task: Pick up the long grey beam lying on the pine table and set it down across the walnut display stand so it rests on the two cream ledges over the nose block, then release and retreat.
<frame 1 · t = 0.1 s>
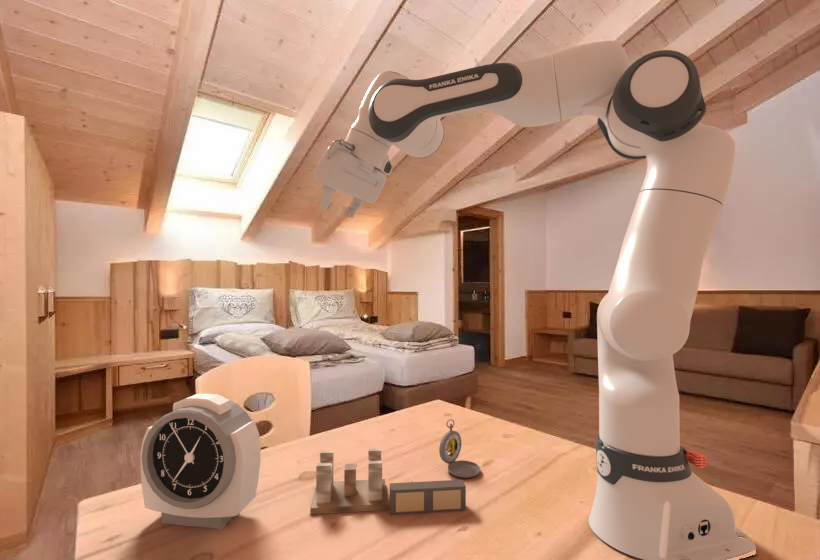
hand: (336, 213, 85), 54 cm above the table, tool tilted 30°, fingers open, 8 cm apart
display stand: (350, 498, 73), on the table
pocket watch: (459, 471, 84), on the table
long grey beam: (427, 510, 70), on the table
alarm clock: (201, 517, 67), on the table
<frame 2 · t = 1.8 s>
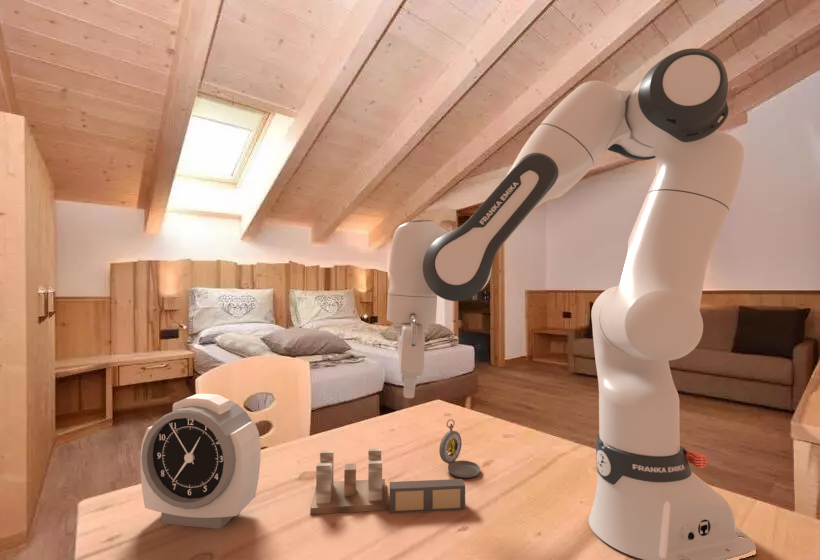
hand: (407, 389, 72), 20 cm above the table, tool pointing down, fingers open, 8 cm apart
nothing on the table moved.
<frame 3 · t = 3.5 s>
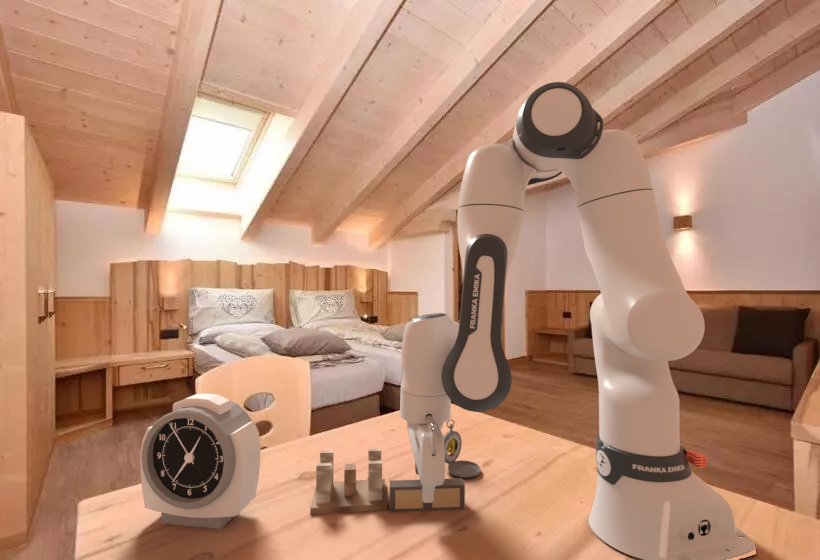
hand: (423, 485, 70), 4 cm above the table, tool pointing down, fingers open, 8 cm apart
nothing on the table moved.
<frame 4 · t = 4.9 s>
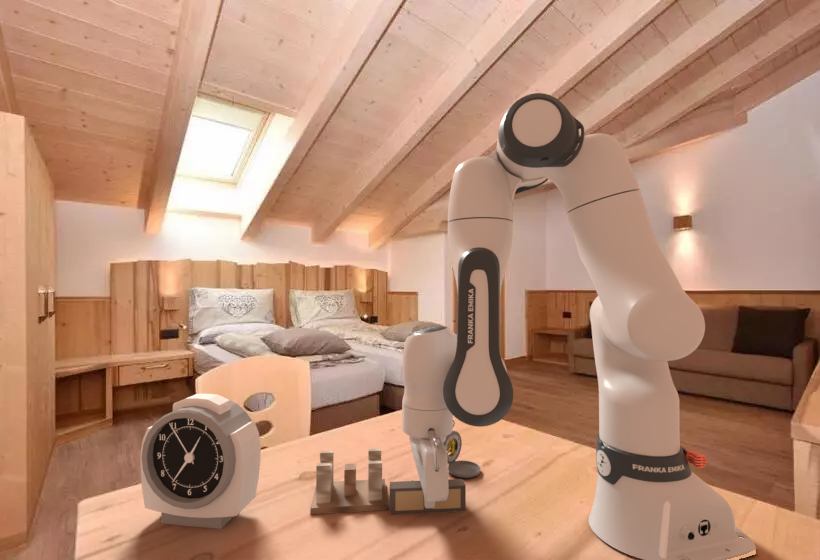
hand: (427, 499, 70), 2 cm above the table, tool pointing down, fingers closed on long grey beam, 3 cm apart
long grey beam: (427, 509, 70), on the table, touching gripper
everything else where it was.
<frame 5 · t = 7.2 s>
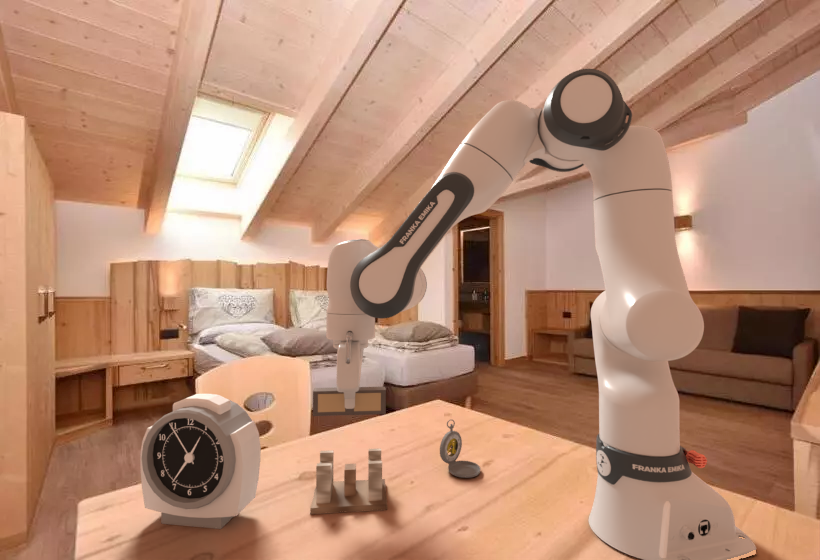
hand: (350, 404, 73), 17 cm above the table, tool pointing down, fingers closed on long grey beam, 2 cm apart
long grey beam: (349, 413, 73), point 15 cm above the table, touching gripper
everything else where it was.
when the fingers open (8 cm above the table, at t = 9.3 s): long grey beam stays where it is, resting on display stand.
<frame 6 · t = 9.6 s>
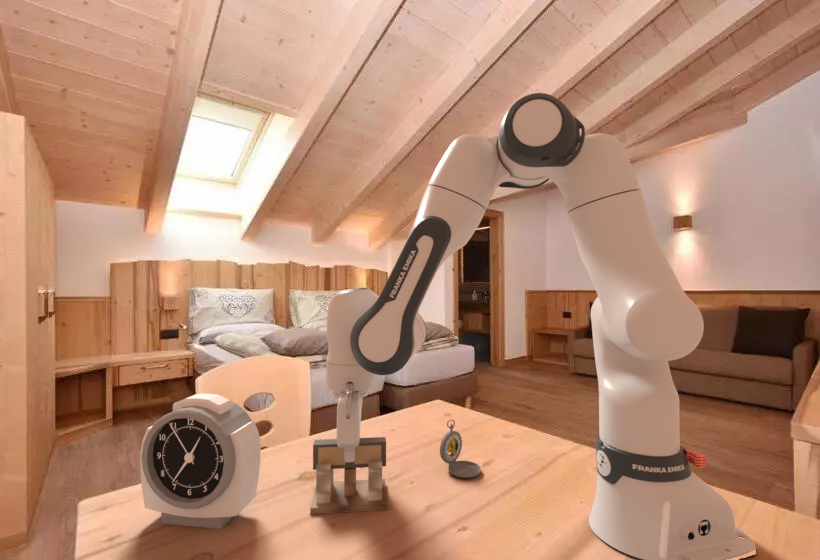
hand: (350, 452, 73), 8 cm above the table, tool pointing down, fingers open, 5 cm apart
long grey beam: (350, 465, 73), point 6 cm above the table, touching display stand
everything else where it was.
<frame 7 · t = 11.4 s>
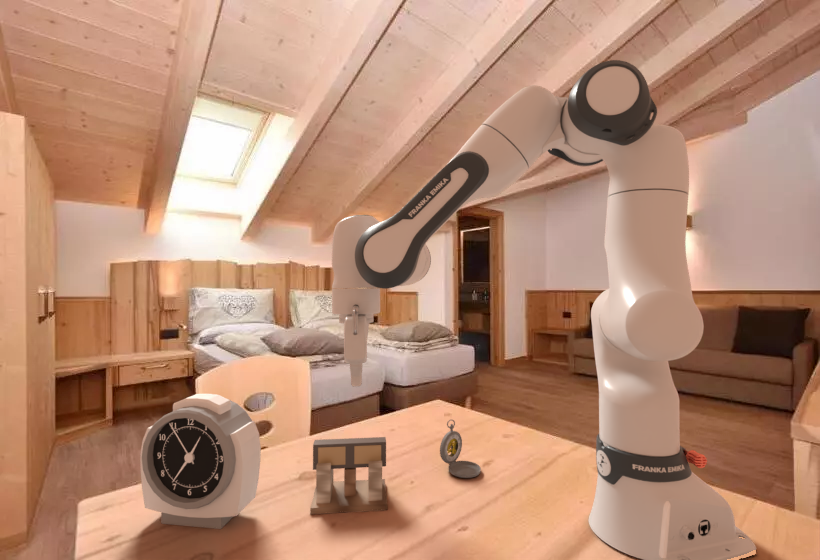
hand: (357, 379, 74), 22 cm above the table, tool pointing down, fingers open, 8 cm apart
nothing on the table moved.
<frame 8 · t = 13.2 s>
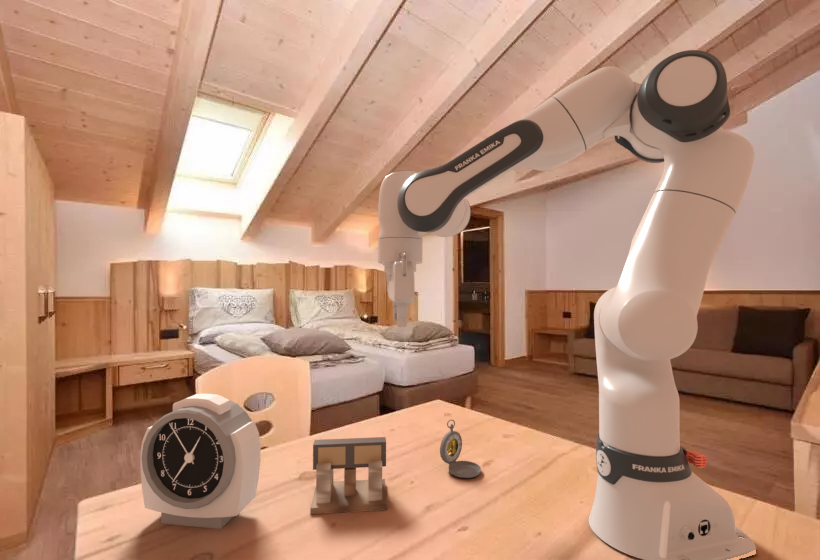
hand: (400, 324, 80), 31 cm above the table, tool pointing down, fingers open, 8 cm apart
nothing on the table moved.
at the end: long grey beam 0.0 cm off-centre on the display stand, point 6.0 cm above the display stand's base; long grey beam tilted 0°; the gripper is holding nothing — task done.
